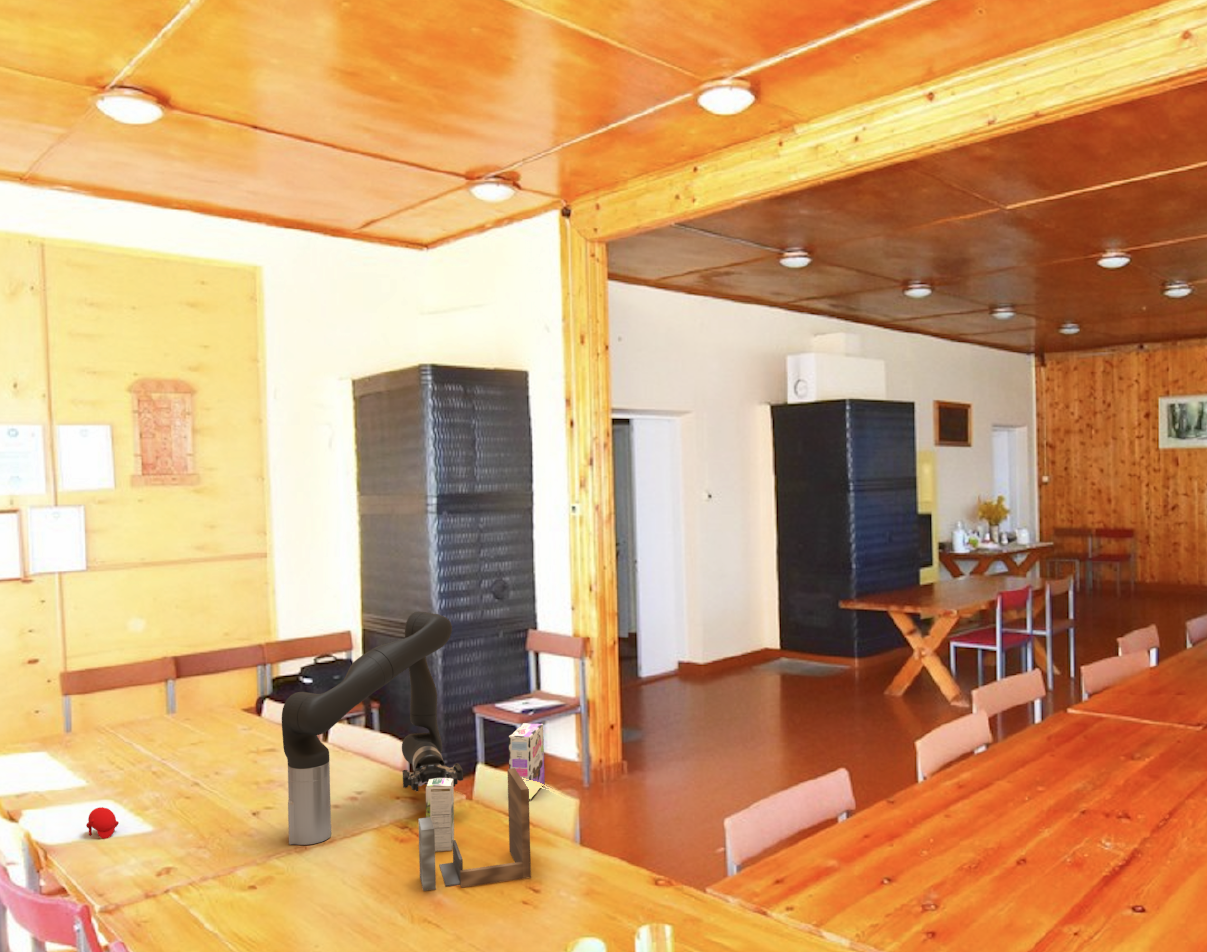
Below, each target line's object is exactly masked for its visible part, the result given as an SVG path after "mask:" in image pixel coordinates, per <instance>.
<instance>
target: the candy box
mask: <svg viewBox="0 0 1207 952" xmlns="http://www.w3.org/2000/svg"><path fill="white" fill-rule="evenodd" d="M544 744H545V743H544V724H543V723H526V722H524V723H522V724H521V725H520V726H519V727H518V728H516V730H515V731H513V733H511V734H510V735H508V763H509V764H508V765H509V767H508V769H513V768H515V769H516V771H517V772H518V774H519V775H520V777H521V778H522V777H523V778H526V779H529V780H533V781H537V782H540V783H542V784H544V785H545V782H546V781H545V749H544V747H545V745H544ZM522 780H524V779H522ZM529 780H526V781H529ZM524 783H525V782H524Z"/></svg>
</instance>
